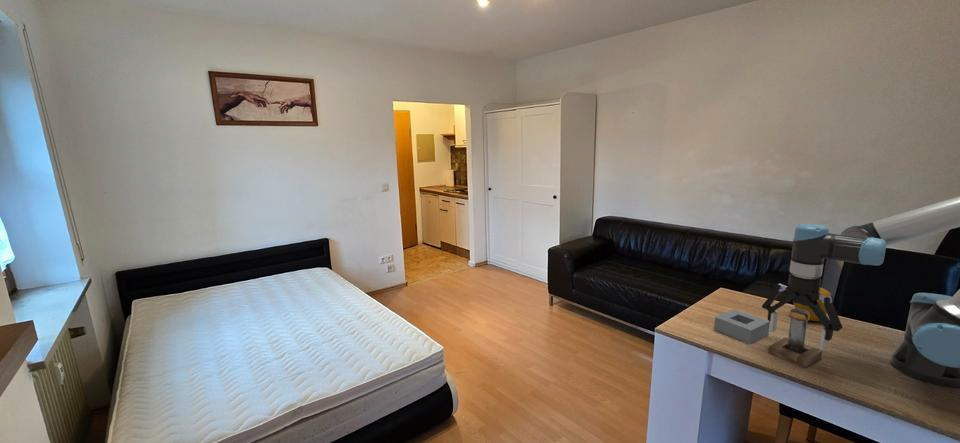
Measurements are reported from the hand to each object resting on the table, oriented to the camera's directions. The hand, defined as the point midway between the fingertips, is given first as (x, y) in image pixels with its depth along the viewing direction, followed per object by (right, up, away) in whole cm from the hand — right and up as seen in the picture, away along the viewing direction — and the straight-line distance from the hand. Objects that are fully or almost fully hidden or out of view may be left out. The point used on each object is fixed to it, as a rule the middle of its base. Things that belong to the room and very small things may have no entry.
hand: (796, 339), depth 121 cm
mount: (0, -5, +1) cm, 6 cm away
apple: (+25, 0, +24) cm, 35 cm away
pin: (0, -5, +1) cm, 6 cm away
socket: (-6, -3, +17) cm, 18 cm away
